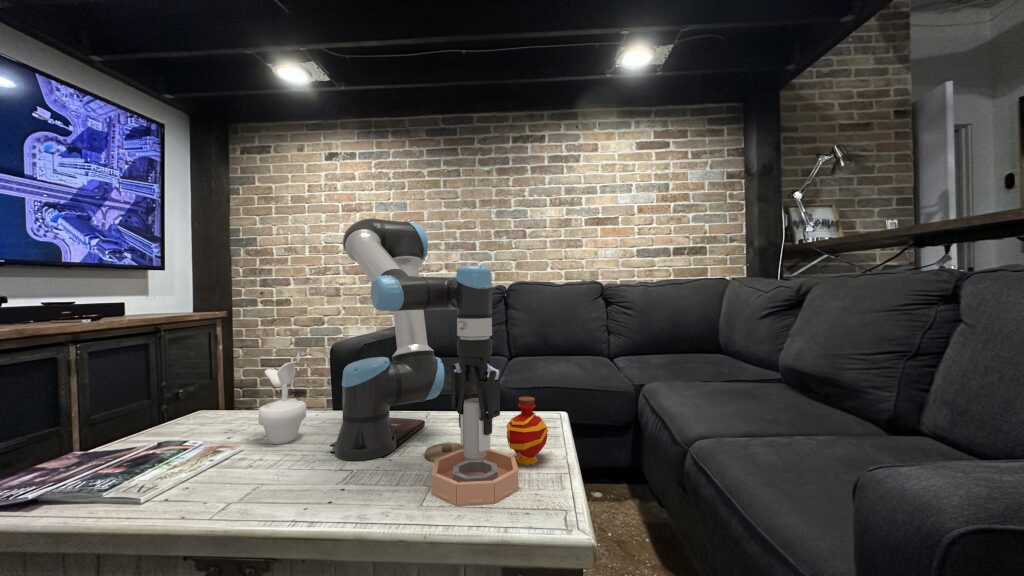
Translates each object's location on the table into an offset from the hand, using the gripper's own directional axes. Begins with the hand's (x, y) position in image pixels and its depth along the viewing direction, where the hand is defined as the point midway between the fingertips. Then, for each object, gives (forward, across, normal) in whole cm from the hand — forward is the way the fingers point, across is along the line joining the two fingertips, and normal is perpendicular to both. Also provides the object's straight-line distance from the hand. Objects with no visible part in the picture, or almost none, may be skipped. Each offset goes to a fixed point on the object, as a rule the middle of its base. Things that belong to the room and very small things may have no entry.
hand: (475, 446), depth 89 cm
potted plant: (+8, -61, -15) cm, 63 cm away
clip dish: (+8, 0, 0) cm, 8 cm away
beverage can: (+2, 0, 0) cm, 2 cm away
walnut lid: (+8, -17, +7) cm, 20 cm away
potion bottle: (+8, +1, +17) cm, 19 cm away
